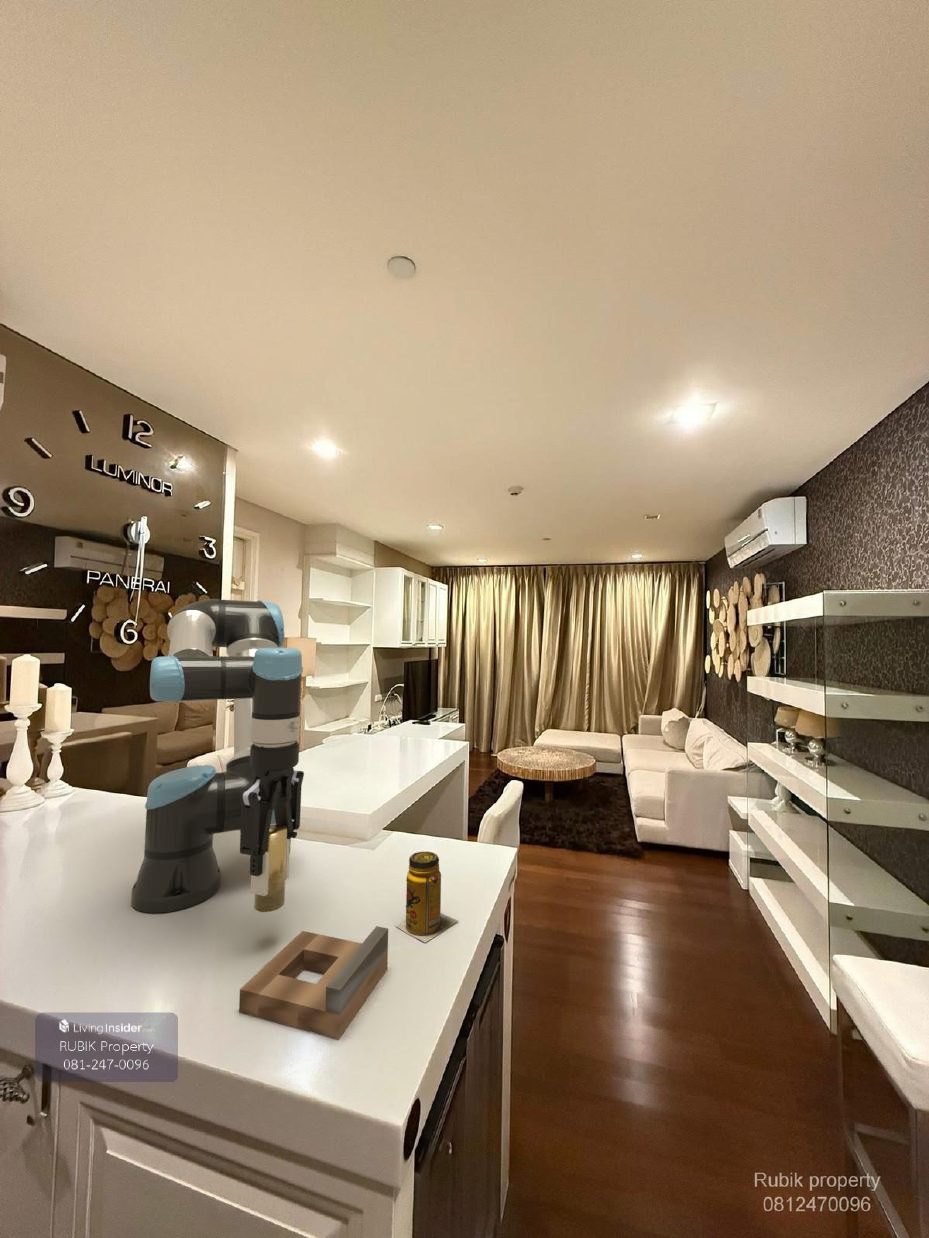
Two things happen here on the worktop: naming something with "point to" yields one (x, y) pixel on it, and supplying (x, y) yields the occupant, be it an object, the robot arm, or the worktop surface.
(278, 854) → the brass cylinder
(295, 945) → the jig
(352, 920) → the worktop surface
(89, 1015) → the worktop surface
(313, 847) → the worktop surface
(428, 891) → the condiment
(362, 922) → the worktop surface
